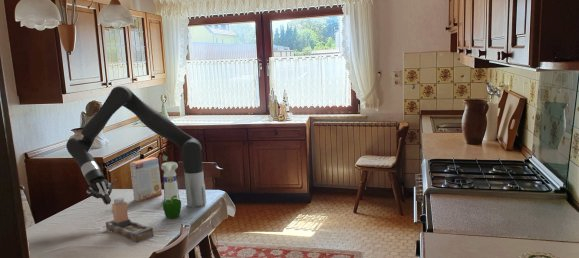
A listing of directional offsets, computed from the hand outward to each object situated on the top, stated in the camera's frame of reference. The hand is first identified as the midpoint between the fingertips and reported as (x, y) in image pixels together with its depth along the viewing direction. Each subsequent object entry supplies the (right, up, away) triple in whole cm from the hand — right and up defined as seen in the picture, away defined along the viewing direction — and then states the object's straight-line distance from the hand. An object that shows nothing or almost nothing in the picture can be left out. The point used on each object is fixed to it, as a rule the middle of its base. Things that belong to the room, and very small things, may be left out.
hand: (108, 203), depth 201 cm
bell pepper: (+27, -8, +9) cm, 29 cm away
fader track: (+12, -11, -8) cm, 19 cm away
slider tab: (+8, -9, -5) cm, 13 cm away
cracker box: (+5, -4, +41) cm, 41 cm away
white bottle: (+19, -4, +36) cm, 41 cm away
